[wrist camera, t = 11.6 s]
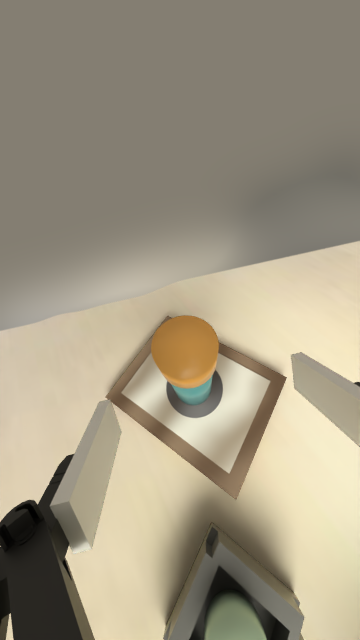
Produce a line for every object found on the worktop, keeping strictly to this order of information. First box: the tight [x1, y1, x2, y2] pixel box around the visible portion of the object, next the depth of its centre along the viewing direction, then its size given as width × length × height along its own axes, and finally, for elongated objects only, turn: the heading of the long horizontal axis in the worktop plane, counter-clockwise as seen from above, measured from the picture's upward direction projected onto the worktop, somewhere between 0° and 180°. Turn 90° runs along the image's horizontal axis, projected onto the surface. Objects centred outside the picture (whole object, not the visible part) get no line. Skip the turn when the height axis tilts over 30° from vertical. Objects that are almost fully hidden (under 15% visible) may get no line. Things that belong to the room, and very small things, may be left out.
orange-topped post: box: [151, 316, 219, 405], centre depth 20 cm, size 5×5×13 cm
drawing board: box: [106, 316, 287, 499], centre depth 27 cm, size 18×14×2 cm
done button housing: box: [163, 523, 304, 640], centre depth 16 cm, size 8×8×4 cm
